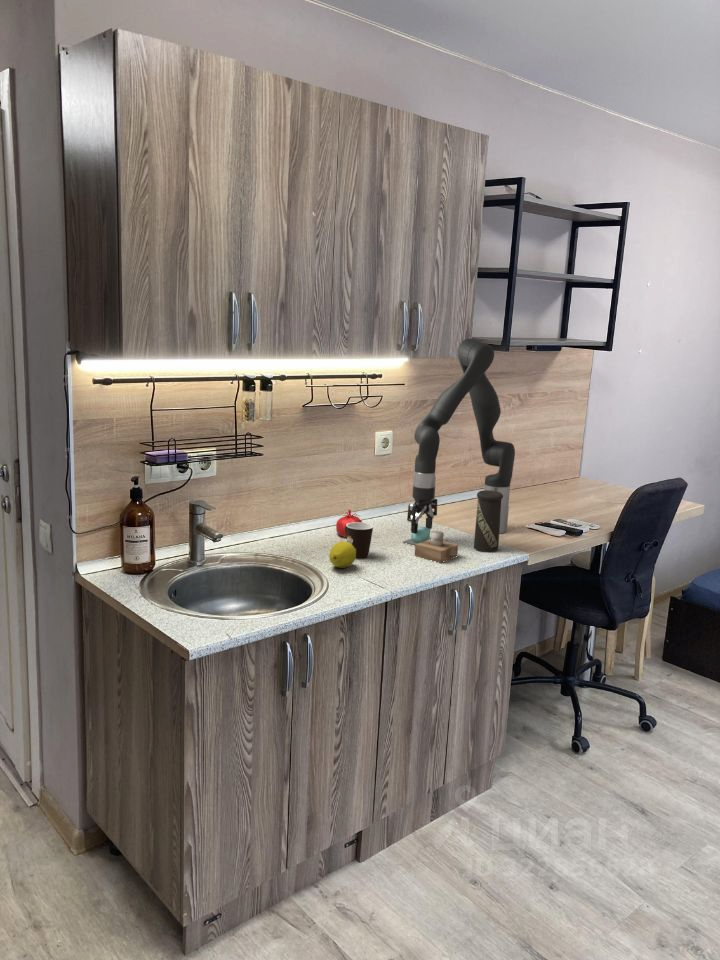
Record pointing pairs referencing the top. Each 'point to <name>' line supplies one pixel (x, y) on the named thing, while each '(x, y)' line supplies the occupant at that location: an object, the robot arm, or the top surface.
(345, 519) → the pomegranate
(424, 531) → the teal rounded tabbed figurine
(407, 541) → the coaster
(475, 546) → the container
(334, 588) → the top surface
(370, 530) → the coffee mug
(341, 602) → the top surface
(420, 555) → the post block
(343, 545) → the lemon
